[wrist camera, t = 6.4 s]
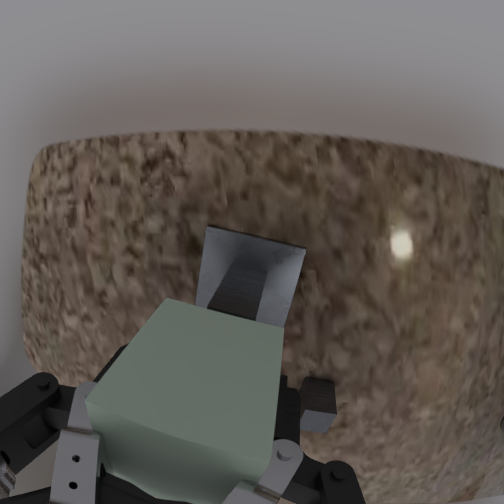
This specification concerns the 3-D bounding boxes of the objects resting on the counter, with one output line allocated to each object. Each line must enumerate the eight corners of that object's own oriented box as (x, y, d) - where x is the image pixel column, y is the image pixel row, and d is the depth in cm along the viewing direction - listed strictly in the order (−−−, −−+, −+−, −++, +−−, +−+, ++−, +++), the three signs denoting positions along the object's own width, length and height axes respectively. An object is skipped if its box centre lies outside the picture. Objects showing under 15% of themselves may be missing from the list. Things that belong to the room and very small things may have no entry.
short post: (333, 382, 25) (336, 414, 21) (324, 401, 26) (325, 433, 22) (305, 377, 25) (305, 409, 21) (297, 396, 26) (295, 429, 22)
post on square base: (305, 247, 21) (309, 290, 15) (282, 330, 24) (275, 391, 17) (208, 224, 22) (171, 257, 15) (196, 309, 24) (163, 361, 18)
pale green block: (284, 327, 13) (271, 460, 6) (258, 407, 14) (237, 518, 8) (166, 297, 13) (84, 400, 7) (161, 380, 15) (108, 477, 9)
